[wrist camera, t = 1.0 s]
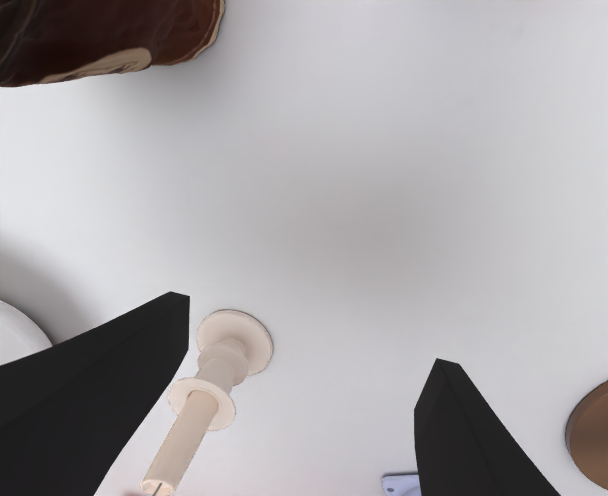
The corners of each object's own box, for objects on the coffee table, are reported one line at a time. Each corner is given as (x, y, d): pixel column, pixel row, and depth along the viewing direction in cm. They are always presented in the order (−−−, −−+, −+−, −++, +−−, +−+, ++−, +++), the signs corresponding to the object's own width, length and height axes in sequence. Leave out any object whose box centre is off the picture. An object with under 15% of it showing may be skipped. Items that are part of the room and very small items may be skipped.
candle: (288, 343, 23) (231, 514, 14) (245, 383, 26) (171, 553, 16) (224, 294, 23) (120, 441, 13) (186, 340, 25) (73, 493, 16)
